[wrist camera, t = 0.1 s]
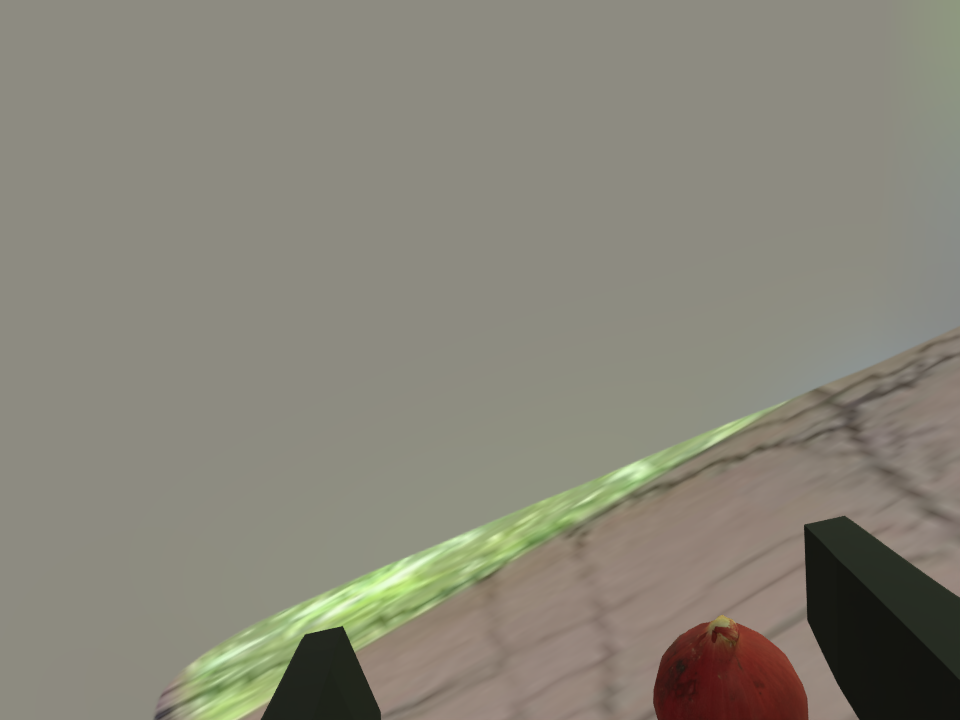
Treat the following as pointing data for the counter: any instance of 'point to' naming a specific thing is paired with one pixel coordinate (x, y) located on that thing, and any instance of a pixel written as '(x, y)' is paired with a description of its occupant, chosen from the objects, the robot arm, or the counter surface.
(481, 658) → the counter surface
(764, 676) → the onion
